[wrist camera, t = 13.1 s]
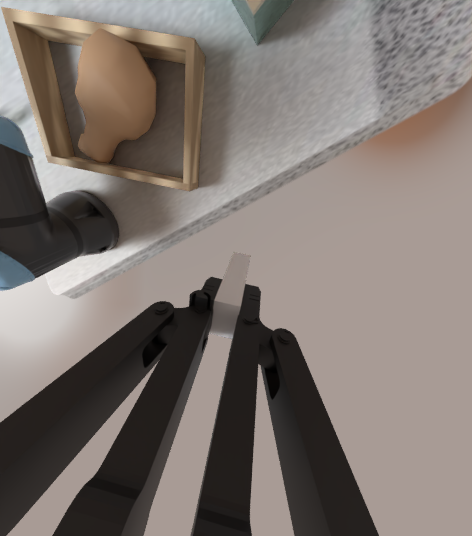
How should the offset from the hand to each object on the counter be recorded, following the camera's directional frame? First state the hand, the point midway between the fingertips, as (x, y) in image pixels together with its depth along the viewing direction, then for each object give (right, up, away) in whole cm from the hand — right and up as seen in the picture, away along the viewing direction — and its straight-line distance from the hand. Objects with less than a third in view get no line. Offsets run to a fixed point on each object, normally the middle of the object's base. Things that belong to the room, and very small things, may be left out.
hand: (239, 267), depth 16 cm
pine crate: (-21, +28, +19) cm, 39 cm away
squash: (-21, +28, +18) cm, 39 cm away
